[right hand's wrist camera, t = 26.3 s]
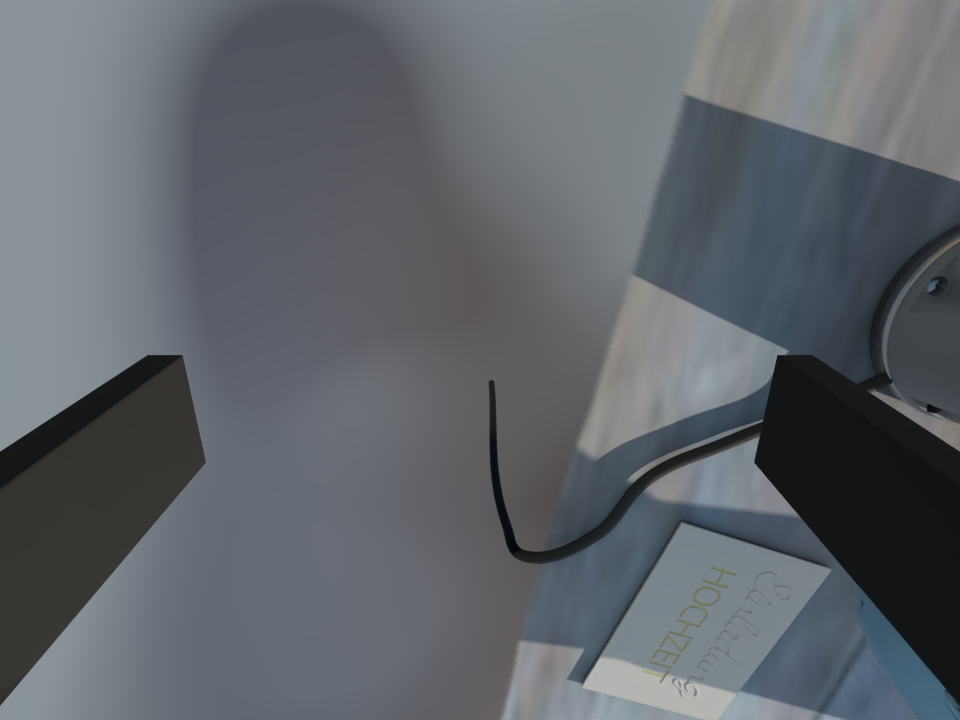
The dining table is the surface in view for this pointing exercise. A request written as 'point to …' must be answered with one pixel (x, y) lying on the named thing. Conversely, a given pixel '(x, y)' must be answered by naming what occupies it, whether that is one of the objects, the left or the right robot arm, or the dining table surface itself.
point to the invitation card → (703, 622)
